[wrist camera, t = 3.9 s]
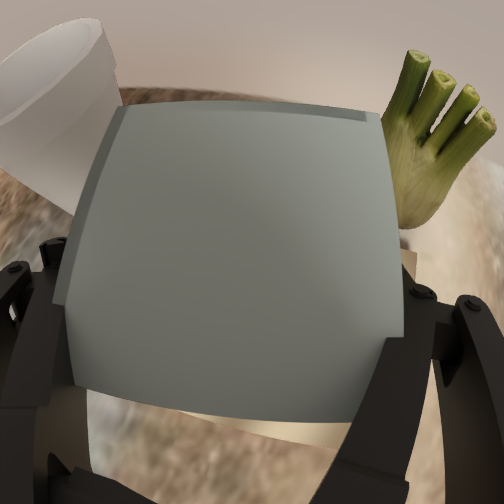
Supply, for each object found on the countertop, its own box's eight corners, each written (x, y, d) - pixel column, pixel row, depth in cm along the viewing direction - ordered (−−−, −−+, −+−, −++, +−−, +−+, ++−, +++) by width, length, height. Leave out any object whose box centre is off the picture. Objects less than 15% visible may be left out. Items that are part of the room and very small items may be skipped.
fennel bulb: (350, 170, 23) (396, 38, 11) (406, 171, 23) (470, 57, 11) (365, 241, 21) (446, 120, 9) (425, 237, 21) (522, 136, 9)
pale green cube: (162, 374, 17) (42, 374, 6) (182, 231, 20) (117, 106, 10) (319, 389, 16) (398, 419, 6) (325, 240, 19) (379, 113, 9)
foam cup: (104, 134, 25) (44, 23, 13) (186, 160, 23) (139, 13, 11) (43, 221, 22) (-56, 129, 10) (119, 266, 21) (-4, 157, 8)
